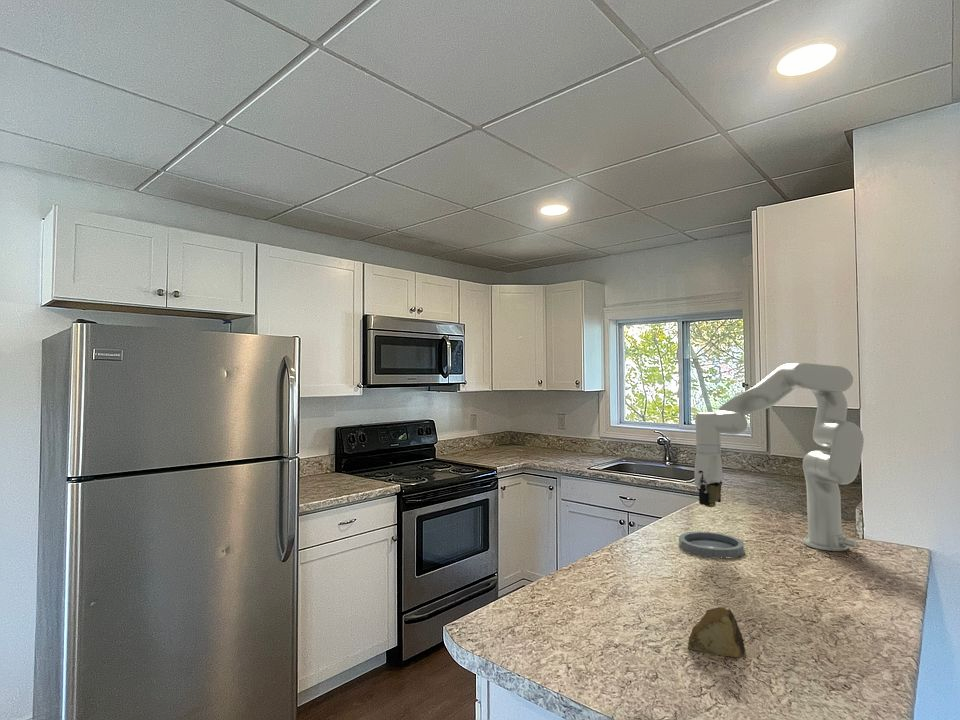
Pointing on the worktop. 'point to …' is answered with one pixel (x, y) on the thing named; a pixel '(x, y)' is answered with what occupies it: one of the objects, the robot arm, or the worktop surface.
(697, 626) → the rock
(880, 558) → the worktop surface
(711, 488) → the cup
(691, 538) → the round dish
